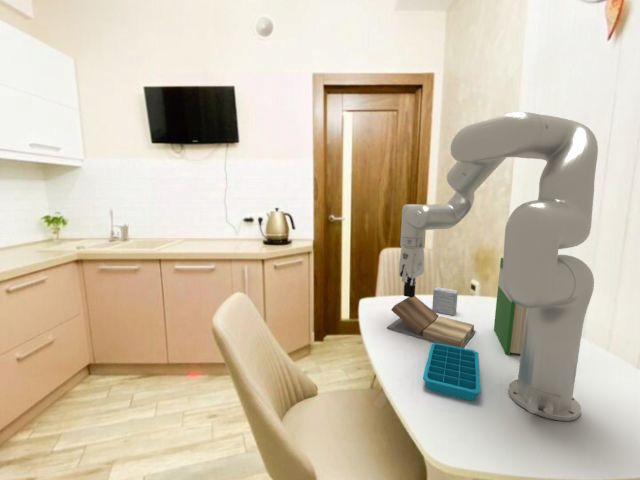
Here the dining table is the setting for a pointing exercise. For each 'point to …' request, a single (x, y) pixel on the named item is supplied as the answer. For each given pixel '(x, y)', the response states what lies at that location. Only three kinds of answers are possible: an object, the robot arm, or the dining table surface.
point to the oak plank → (449, 331)
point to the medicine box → (445, 301)
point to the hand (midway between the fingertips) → (409, 296)
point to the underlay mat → (405, 329)
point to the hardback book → (508, 319)
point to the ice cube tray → (453, 371)
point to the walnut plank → (415, 314)
